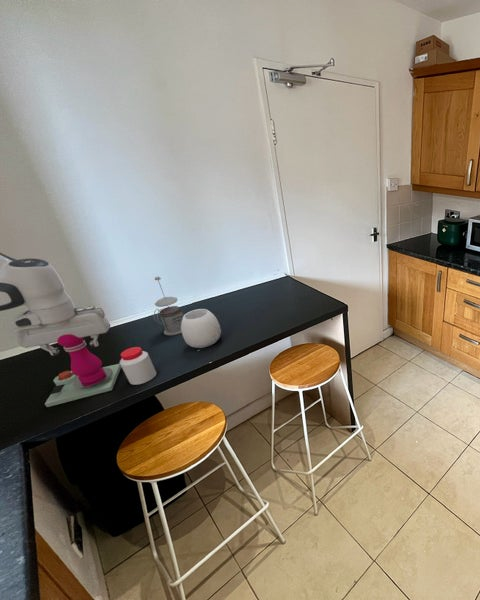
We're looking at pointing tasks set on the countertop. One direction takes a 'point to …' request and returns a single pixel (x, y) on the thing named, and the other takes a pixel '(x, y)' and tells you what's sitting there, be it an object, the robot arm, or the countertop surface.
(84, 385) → the scale top
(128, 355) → the pill bottle
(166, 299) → the french press
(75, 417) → the countertop surface
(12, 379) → the countertop surface
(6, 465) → the countertop surface
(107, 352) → the countertop surface
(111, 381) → the scale
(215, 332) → the white round vase
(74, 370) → the pepper mill
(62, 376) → the button
